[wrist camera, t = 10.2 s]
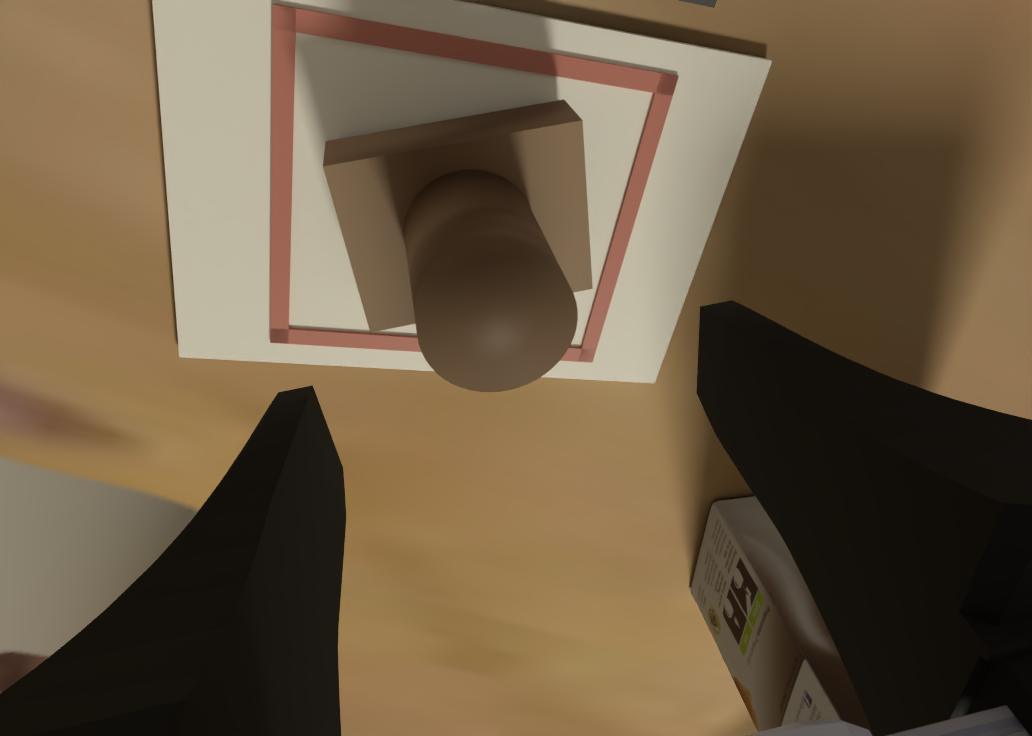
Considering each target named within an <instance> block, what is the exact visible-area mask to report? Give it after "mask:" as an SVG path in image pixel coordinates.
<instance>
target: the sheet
mask: <svg viewBox="0 0 1032 736" xmlns="http://www.w3.org/2000/svg"><path fill="white" fill-rule="evenodd" d="M152 4H153V18H154V31H155V44H156V57H157V70H158V83H159V96H160V110H161V123H162V136H163V149H164V162H165V175H166V189H167V202H168V215H169V228H170V241H171V254H172V268H173V281H174V294H175V307H176V320H177V333H178V347H179V357H186V358H204V359H222V360H241V361H259V362H277V363H295V364H313V365H332V366H350V367H368V368H386V369H405V370H423V371H434V370H433V369H432V368H431V367H430V365H429V364H428V363H427V361H426V360H425V358H424V356H423V354H422V352H421V350H420V346H419V343H418V338H417V331H416V324H411V325H406V326H401V327H396V328H391V329H386V330H381V331H376V332H371V333H370V330H369V326H368V323H367V319H366V316H365V312H364V309H363V305H362V302H361V298H360V295H359V291H358V288H357V284H356V281H355V277H354V274H353V270H352V267H351V263H350V260H349V256H348V253H347V249H346V246H345V242H344V239H343V235H342V232H341V228H340V225H339V221H338V218H337V214H336V211H335V207H334V204H333V200H332V197H331V193H330V190H329V186H328V183H327V179H326V176H325V172H324V169H323V160H324V150H325V141H329V140H335V139H341V138H346V137H352V136H358V135H363V134H369V133H375V132H381V131H386V130H392V129H398V128H403V127H409V126H415V125H421V124H426V123H432V122H438V121H443V120H449V119H455V118H461V117H466V116H472V115H478V114H483V113H489V112H495V111H500V110H506V109H512V108H518V107H523V106H529V105H535V104H540V103H546V102H552V101H558V100H563V99H564V100H565V101H566V102H567V103H568V104H569V105H570V107H571V108H572V109H573V110H574V111H575V112H576V113H577V115H578V116H579V117H580V118H581V119H582V120H583V136H584V153H585V170H586V186H587V203H588V220H589V236H590V253H591V270H592V286H593V289H589V290H584V291H579V292H574V296H575V300H576V303H577V310H578V321H577V328H576V332H575V335H574V338H573V340H572V343H571V345H570V347H569V348H568V350H567V352H566V353H565V355H564V356H563V357H562V358H561V360H560V361H559V362H558V363H557V364H556V365H555V366H554V367H553V368H552V369H551V370H550V371H548V372H547V373H546V374H544V375H543V376H541V377H550V378H568V379H587V380H605V381H623V382H641V383H655V381H656V378H657V375H658V372H659V370H660V367H661V364H662V361H663V359H664V356H665V353H666V350H667V348H668V345H669V342H670V340H671V337H672V334H673V331H674V329H675V326H676V323H677V320H678V318H679V315H680V312H681V309H682V307H683V304H684V301H685V298H686V296H687V293H688V290H689V288H690V285H691V282H692V279H693V277H694V274H695V271H696V268H697V266H698V263H699V260H700V257H701V255H702V252H703V249H704V247H705V244H706V241H707V238H708V236H709V233H710V230H711V227H712V225H713V222H714V219H715V216H716V214H717V211H718V208H719V205H720V203H721V200H722V197H723V195H724V192H725V189H726V186H727V184H728V181H729V178H730V175H731V173H732V170H733V167H734V164H735V162H736V159H737V156H738V154H739V151H740V148H741V145H742V143H743V140H744V137H745V134H746V132H747V129H748V126H749V123H750V121H751V118H752V115H753V113H754V110H755V107H756V104H757V102H758V99H759V96H760V93H761V91H762V88H763V85H764V82H765V80H766V77H767V74H768V71H769V69H770V66H771V63H772V61H771V60H769V59H767V58H762V57H757V56H751V55H746V54H741V53H736V52H730V51H725V50H720V49H715V48H710V47H704V46H699V45H694V44H689V43H683V42H678V41H673V40H668V39H662V38H657V37H652V36H647V35H642V34H636V33H631V32H626V31H621V30H615V29H610V28H605V27H600V26H594V25H589V24H584V23H579V22H574V21H568V20H563V19H558V18H553V17H547V16H542V15H537V14H532V13H526V12H521V11H516V10H511V9H506V8H500V7H495V6H490V5H485V4H479V3H474V2H469V1H464V0H152Z"/></svg>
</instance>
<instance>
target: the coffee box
mask: <svg viewBox="0 0 1032 736" xmlns="http://www.w3.org/2000/svg"><path fill="white" fill-rule="evenodd" d="M691 594H692V596H693V598H694V600H695V601H696V603H697V605H698V607H699V609H700V611H701V613H702V615H703V617H704V619H705V621H706V623H707V625H708V627H709V629H710V631H711V634H712V636H713V638H714V640H715V642H716V644H717V646H718V648H719V651H720V653H721V655H722V657H723V660H724V661H725V663H726V665H727V667H728V670H729V672H730V674H731V676H732V678H733V680H734V682H735V684H736V687H737V689H738V691H739V693H740V695H741V697H742V699H743V701H744V703H745V705H746V708H747V710H748V712H749V714H750V716H751V718H752V720H753V722H754V725H755V727H756V729H757V731H758V732H761V731H765V730H769V729H773V728H777V727H781V726H785V725H789V724H793V723H797V722H804V721H813V720H822V719H831V718H835V719H838V720H841V721H844V722H847V723H850V724H853V725H856V726H859V727H862V728H865V729H868V730H869V731H870V733H871V735H872V736H874V735H873V733H872V730H871V728H870V725H869V723H868V720H867V718H866V716H865V713H864V711H863V708H862V706H861V703H860V701H859V698H858V696H857V694H856V691H855V689H854V687H853V685H852V682H851V680H850V678H849V675H848V673H847V671H846V669H845V666H844V664H843V662H842V660H841V657H840V655H839V653H838V651H837V648H836V646H835V644H834V642H833V639H832V637H831V635H830V633H829V631H828V629H827V627H826V625H825V622H824V620H823V618H822V616H821V614H820V612H819V610H818V608H817V606H816V604H815V601H814V599H813V597H812V595H811V593H810V591H809V589H808V587H807V585H806V583H805V581H804V579H803V577H802V575H801V573H800V571H799V569H798V567H797V565H796V563H795V561H794V559H793V557H792V555H791V553H790V551H789V549H788V547H787V546H786V544H785V542H784V541H783V539H782V537H781V535H780V534H779V532H778V530H777V529H776V527H775V525H774V524H773V522H772V521H771V519H770V518H769V516H768V515H767V513H766V512H765V510H764V509H763V507H762V505H761V504H760V502H759V501H758V499H757V498H756V496H753V497H746V498H738V499H729V500H720V501H716V502H714V503H713V504H712V506H711V509H710V513H709V517H708V521H707V525H706V529H705V533H704V537H703V541H702V545H701V549H700V553H699V557H698V561H697V565H696V569H695V573H694V578H693V582H692V586H691Z"/></svg>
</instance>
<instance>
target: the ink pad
mask: <svg viewBox="0 0 1032 736" xmlns="http://www.w3.org/2000/svg"><path fill="white" fill-rule="evenodd" d="M680 1H685V2H690V3H694V4H699V5H704V6H709V7H715V4H716V1H717V0H680Z"/></svg>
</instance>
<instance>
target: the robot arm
mask: <svg viewBox="0 0 1032 736" xmlns="http://www.w3.org/2000/svg"><path fill="white" fill-rule="evenodd" d="M697 395H698V397H699V399H700V401H701V404H702V406H703V408H704V410H705V413H706V415H707V417H708V419H709V421H710V423H711V425H712V427H713V430H714V432H715V434H716V436H717V437H718V439H719V441H720V442H721V444H722V445H723V447H724V449H725V450H726V452H727V453H728V455H729V456H730V458H731V459H732V461H733V463H734V464H735V466H736V467H737V469H738V470H739V472H740V473H741V475H742V476H743V478H744V480H745V481H746V483H747V484H748V486H749V487H750V489H751V490H752V492H753V493H754V495H755V496H756V498H757V499H758V501H759V502H760V504H761V505H762V507H763V509H764V510H765V512H766V513H767V515H768V516H769V518H770V519H771V521H772V522H773V524H774V525H775V527H776V529H777V530H778V532H779V534H780V535H781V537H782V539H783V541H784V542H785V544H786V546H787V547H788V549H789V551H790V553H791V555H792V557H793V559H794V561H795V563H796V565H797V567H798V569H799V571H800V573H801V575H802V577H803V579H804V581H805V583H806V585H807V587H808V589H809V591H810V593H811V595H812V597H813V599H814V601H815V604H816V606H817V608H818V610H819V612H820V614H821V616H822V618H823V620H824V622H825V625H826V627H827V629H828V631H829V633H830V635H831V637H832V639H833V642H834V644H835V646H836V648H837V651H838V653H839V655H840V657H841V660H842V662H843V664H844V666H845V669H846V671H847V673H848V675H849V678H850V680H851V682H852V685H853V687H854V689H855V691H856V694H857V696H858V698H859V701H860V703H861V706H862V708H863V711H864V713H865V716H866V718H867V720H868V723H869V725H870V728H871V730H872V733H873V735H874V736H1032V420H1030V419H1026V418H1021V417H1017V416H1013V415H1009V414H1005V413H1001V412H997V411H993V410H990V409H986V408H983V407H979V406H976V405H972V404H968V403H965V402H961V401H958V400H955V399H951V398H948V397H945V396H942V395H939V394H936V393H933V392H930V391H927V390H924V389H922V388H919V387H916V386H913V385H910V384H908V383H905V382H902V381H899V380H897V379H894V378H891V377H889V376H886V375H884V374H881V373H879V372H877V371H874V370H872V369H870V368H868V367H865V366H863V365H861V364H858V363H856V362H854V361H852V360H849V359H847V358H845V357H843V356H841V355H839V354H836V353H834V352H832V351H830V350H828V349H826V348H824V347H822V346H820V345H818V344H816V343H814V342H812V341H810V340H808V339H806V338H804V337H802V336H800V335H798V334H796V333H795V332H793V331H791V330H789V329H787V328H785V327H783V326H781V325H779V324H777V323H776V322H774V321H772V320H770V319H768V318H766V317H764V316H762V315H760V314H759V313H757V312H755V311H753V310H751V309H749V308H747V307H745V306H743V305H741V304H739V303H736V302H734V301H732V300H731V301H726V302H722V303H717V304H712V305H707V306H702V307H700V326H699V350H698V375H697ZM345 526H346V507H345V490H344V476H343V467H342V464H341V461H340V459H339V456H338V453H337V451H336V448H335V445H334V442H333V440H332V437H331V434H330V432H329V429H328V426H327V423H326V421H325V418H324V415H323V413H322V410H321V407H320V404H319V402H318V399H317V396H316V394H315V391H314V388H313V386H308V387H303V388H298V389H294V390H289V391H284V392H279V393H278V394H277V395H276V397H275V398H274V400H273V401H272V403H271V404H270V406H269V408H268V409H267V411H266V412H265V414H264V416H263V417H262V419H261V420H260V422H259V424H258V425H257V427H256V429H255V430H254V432H253V433H252V435H251V437H250V438H249V440H248V441H247V443H246V444H245V446H244V448H243V449H242V451H241V452H240V454H239V455H238V457H237V458H236V460H235V461H234V463H233V464H232V466H231V467H230V469H229V470H228V472H227V473H226V475H225V476H224V477H223V479H222V480H221V482H220V483H219V485H218V486H217V487H216V489H215V490H214V491H213V493H212V494H211V495H210V497H209V498H208V499H207V501H206V502H205V503H204V505H203V506H202V507H201V509H200V510H199V511H198V513H197V514H196V515H195V517H194V518H193V519H192V520H191V522H190V523H189V524H188V525H187V526H186V527H185V529H184V530H183V531H182V532H181V533H180V535H179V536H178V537H177V538H176V539H175V540H174V541H173V542H172V544H171V545H170V546H169V547H168V548H167V549H166V550H165V551H164V552H163V553H162V555H161V556H160V557H159V558H158V559H157V560H156V561H155V562H154V563H153V564H152V565H151V566H150V567H149V568H148V569H147V570H146V571H145V572H144V573H143V574H142V575H141V576H140V577H139V578H138V579H137V580H136V581H135V582H134V583H133V584H132V585H131V586H130V587H129V588H128V589H127V590H125V591H124V593H122V594H121V595H120V596H119V597H118V598H117V599H116V600H115V601H114V602H113V603H112V604H111V605H110V606H109V607H108V608H107V609H106V610H105V611H103V613H101V614H100V615H99V616H98V617H97V618H96V619H94V620H93V621H92V622H91V623H90V624H89V625H87V626H86V627H85V628H84V629H83V630H82V631H81V632H79V633H78V634H77V635H76V636H75V637H73V638H72V639H71V640H70V641H68V642H67V643H66V644H65V645H64V646H62V647H61V648H60V649H59V650H58V651H56V652H55V653H54V654H53V655H51V656H50V657H49V658H48V659H46V660H45V661H44V662H42V663H41V664H40V665H39V666H37V667H36V668H35V669H34V670H32V671H31V672H29V673H28V674H27V675H25V676H24V677H23V678H21V679H20V680H19V681H17V682H16V683H14V684H13V685H12V686H10V687H9V688H8V689H6V690H5V691H4V692H2V693H1V694H0V736H341V723H340V703H339V675H338V623H339V610H340V596H341V583H342V569H343V556H344V541H345ZM745 736H872V735H871V733H870V731H869V730H868V729H865V728H862V727H859V726H856V725H853V724H850V723H847V722H844V721H841V720H838V719H835V718H831V719H822V720H813V721H804V722H797V723H793V724H789V725H785V726H781V727H777V728H773V729H769V730H765V731H761V732H757V733H753V734H749V735H745Z"/></svg>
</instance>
